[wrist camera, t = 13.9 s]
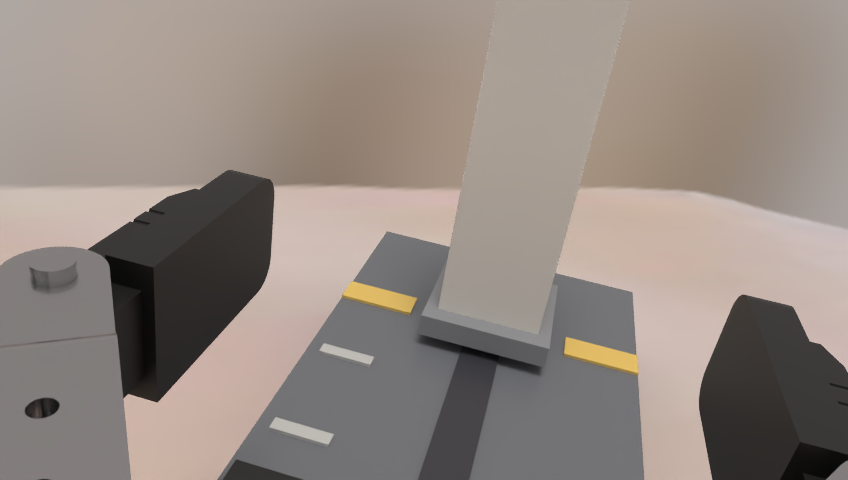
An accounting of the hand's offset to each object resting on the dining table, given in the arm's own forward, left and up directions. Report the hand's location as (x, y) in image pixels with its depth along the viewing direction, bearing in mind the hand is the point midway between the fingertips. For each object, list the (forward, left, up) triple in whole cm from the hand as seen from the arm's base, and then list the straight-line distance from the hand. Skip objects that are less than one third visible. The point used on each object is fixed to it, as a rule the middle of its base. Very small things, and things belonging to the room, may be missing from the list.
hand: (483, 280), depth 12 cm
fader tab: (+5, +8, -7) cm, 12 cm away
